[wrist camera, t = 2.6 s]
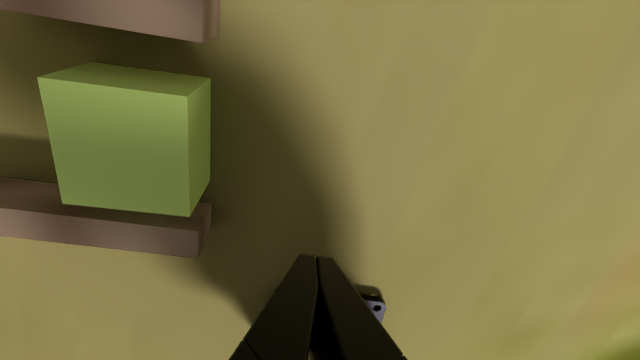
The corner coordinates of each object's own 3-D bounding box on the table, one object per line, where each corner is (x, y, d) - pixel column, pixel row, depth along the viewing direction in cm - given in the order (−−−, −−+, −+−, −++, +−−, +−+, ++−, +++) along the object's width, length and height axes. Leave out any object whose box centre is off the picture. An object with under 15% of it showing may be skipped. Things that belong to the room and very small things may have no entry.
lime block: (211, 77, 16) (187, 96, 13) (210, 179, 18) (189, 217, 15) (92, 61, 16) (37, 77, 12) (106, 167, 18) (62, 203, 15)
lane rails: (219, -4, 14) (202, -5, 12) (210, 227, 19) (197, 258, 17) (-56, -54, 13) (-129, -65, 11) (7, 203, 18) (-35, 232, 16)
